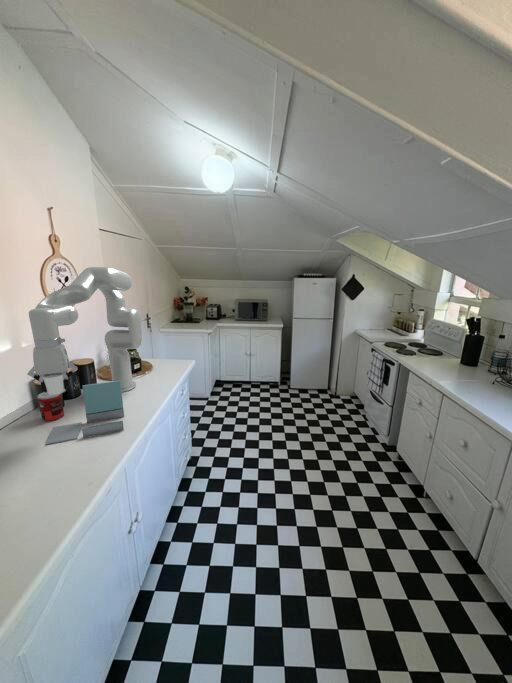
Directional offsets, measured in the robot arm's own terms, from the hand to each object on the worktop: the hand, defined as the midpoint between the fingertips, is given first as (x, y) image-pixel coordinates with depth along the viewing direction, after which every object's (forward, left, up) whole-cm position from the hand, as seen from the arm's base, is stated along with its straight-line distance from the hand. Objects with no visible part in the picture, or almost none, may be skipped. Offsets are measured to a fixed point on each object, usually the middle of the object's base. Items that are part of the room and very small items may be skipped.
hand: (56, 389), depth 106 cm
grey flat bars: (0, +14, -19) cm, 23 cm away
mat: (0, 0, -19) cm, 19 cm away
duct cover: (-6, +14, -9) cm, 18 cm away
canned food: (-16, -7, -19) cm, 26 cm away
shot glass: (0, 0, -1) cm, 1 cm away
